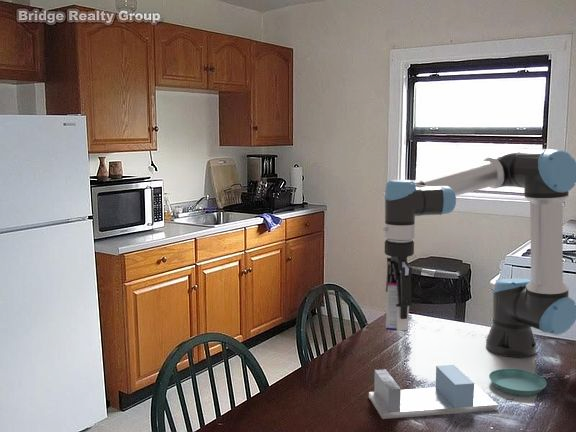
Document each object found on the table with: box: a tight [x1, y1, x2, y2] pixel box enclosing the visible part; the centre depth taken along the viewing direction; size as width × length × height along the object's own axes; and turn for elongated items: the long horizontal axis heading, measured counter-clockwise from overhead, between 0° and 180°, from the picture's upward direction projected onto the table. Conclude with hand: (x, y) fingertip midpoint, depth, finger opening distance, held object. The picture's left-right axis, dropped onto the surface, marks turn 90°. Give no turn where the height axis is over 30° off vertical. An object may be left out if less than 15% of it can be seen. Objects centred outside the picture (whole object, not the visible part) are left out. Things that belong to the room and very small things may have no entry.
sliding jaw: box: [435, 364, 475, 408], centre depth 150 cm, size 5×12×6 cm, turn 8°
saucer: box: [488, 368, 548, 397], centre depth 160 cm, size 15×15×3 cm
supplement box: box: [385, 282, 410, 332], centre depth 153 cm, size 6×6×12 cm
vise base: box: [368, 368, 499, 420], centre depth 150 cm, size 30×12×8 cm, turn 98°
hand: (397, 325), depth 154 cm, fingers closed on supplement box, 7 cm apart
